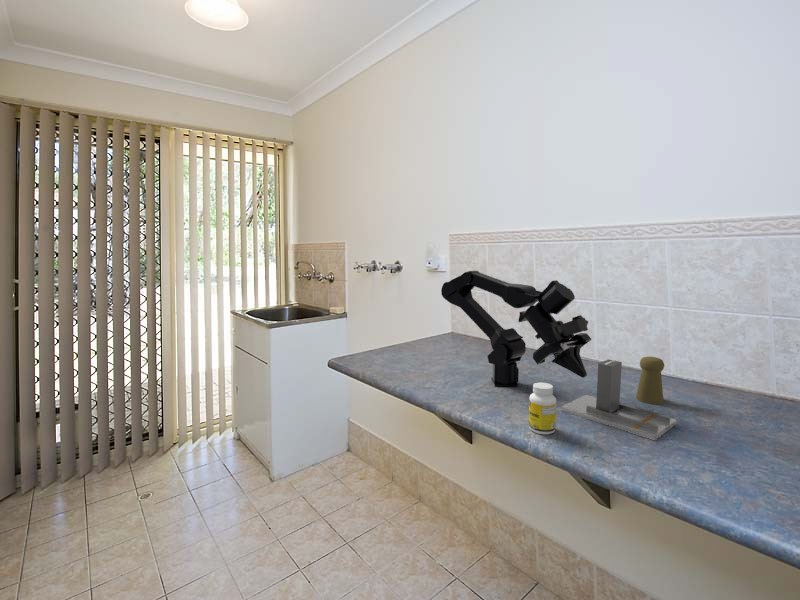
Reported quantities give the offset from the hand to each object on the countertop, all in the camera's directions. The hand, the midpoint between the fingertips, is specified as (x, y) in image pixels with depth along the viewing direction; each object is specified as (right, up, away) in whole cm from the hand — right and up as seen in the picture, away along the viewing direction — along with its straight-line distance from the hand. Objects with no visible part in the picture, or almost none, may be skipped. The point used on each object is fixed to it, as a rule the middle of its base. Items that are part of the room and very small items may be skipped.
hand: (585, 376), depth 97 cm
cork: (+19, -7, +5) cm, 21 cm away
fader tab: (+4, -7, -4) cm, 9 cm away
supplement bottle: (-14, -9, -11) cm, 20 cm away
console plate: (+5, -8, -5) cm, 11 cm away
